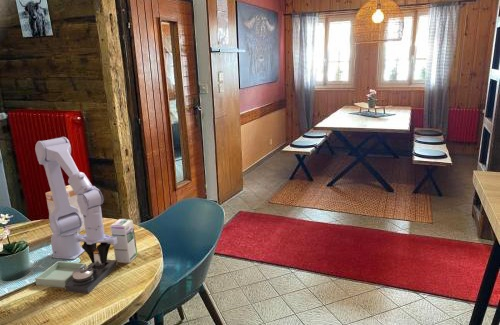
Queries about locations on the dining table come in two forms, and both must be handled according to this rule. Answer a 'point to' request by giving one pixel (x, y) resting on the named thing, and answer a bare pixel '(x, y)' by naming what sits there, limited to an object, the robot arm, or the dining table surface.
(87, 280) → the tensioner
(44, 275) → the tray
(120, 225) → the syrup box
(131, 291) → the dining table surface
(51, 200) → the coffeecake box
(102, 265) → the glass vial
